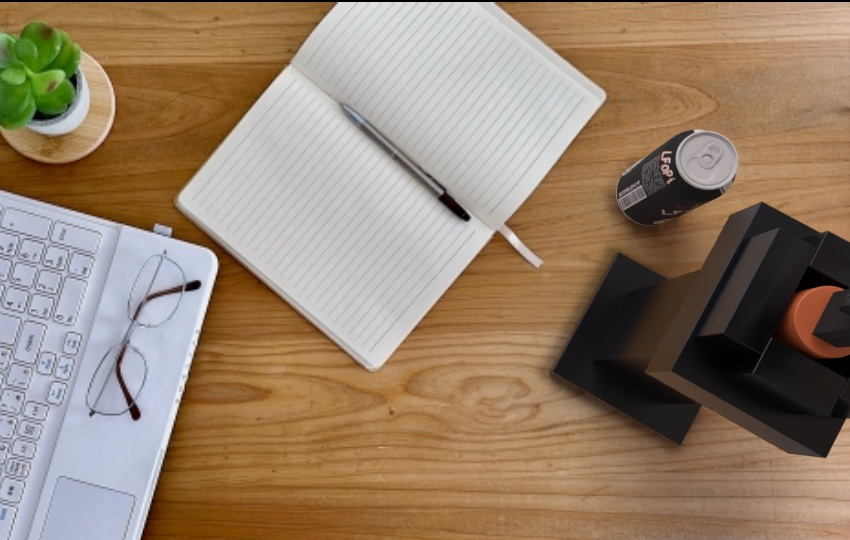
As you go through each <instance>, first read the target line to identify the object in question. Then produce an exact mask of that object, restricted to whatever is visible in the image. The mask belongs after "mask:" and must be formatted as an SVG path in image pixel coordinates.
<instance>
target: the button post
mask: <svg viewBox="0 0 850 540" xmlns="http://www.w3.org/2000/svg"><path fill="white" fill-rule="evenodd" d="M822 286H834V287H838V288H842V289H844V290H847V289H849V287H850V241H849V240H847V239H844V238H843V237H841V236H839V235H837V234H835V233H833V232H832V231H830V230H825V231H822V232H820V231H819V230H816V229H814V228H813V227H811V226H809V225H808V224H805V223H804V222H801V221H799V220H798V219H796V218H794V217H792V216H790V215H788V214H786V213H785V212H783V211H781V210H779V209H777V208H775V207H773V206H771V205H769V204H768V203H766V202H764V201H763V200H762V201H759V202H757V203H754V204H752V205H749V206H748V207H745V208H743V209H740V210H738V211H736V212H733V213H731V214H730V215H728V218H727V219H726V221H725V223H724V225H723V227H722V229H721V230H720V232H719V234H718V236H717V238H716V240H715V241H714V244H713V246H712V247H711V249H710V250H709V253H708V255H707V256H706V258H705V260H704V261H703V264H702V266H701V267H700V269H697V270H694V271H691V272H688V273H685V274H682V275H678V276H675V277H673V278H667V277H665V276H663V275H661V274H659V273H657V272H656V271H654V270H652V269H650V267H649V268H648V267H647V266H644V265H643V264H641V263H640V262H637V261H636V260H634V259H633V258H630V257H629V256H627V255H625V254H623V253H621V252H619V251H618V252H615V253H614V254H613V255H612V256H611V258H610V260H609V262H608V264H607V266H606V268H605V269H604V271H603V273H602V275H601V277H600V278H599V280H598V282H597V284H596V285H595V287H594V289H593V291H592V292H591V294H590V296H589V298H588V299H587V302H586V304H585V305H584V307H583V309H582V311H581V313H580V314H579V316H578V318H577V320H576V322H575V324H574V325H573V327H572V329H571V331H570V332H569V334H568V336H567V337H566V339H565V341H564V343H563V345H562V347H561V349H560V350H559V352H558V354H557V356H556V358H554V359H555V360H554V361H553V363H552V365H551V366H550V369H549V370H548V373H550V374H551V375H553V376H554V377H556V378H558V379H560V380H562V381H563V382H564V383H567V384H569V385H570V386H572V387H574V388H576V389H577V390H578V391H581V392H582V393H584V394H586V395H588V396H589V397H591V398H593V399H594V400H596V401H598V402H600V403H601V404H603V405H605V406H606V407H608V408H610V409H612V410H614V411H615V412H617V413H619V414H621V415H622V416H624V417H626V418H627V419H629V420H631V421H633V422H634V423H636V424H638V425H639V426H641V427H643V428H645V429H647V430H648V431H650V432H652V433H654V434H655V435H657V436H659V437H660V438H662V439H664V440H666V441H667V442H669V443H671V444H673V445H676V446H681V445H682V444H683V442H684V439H685V438H686V436H687V434H688V432H690V431H689V430H690V429H691V427H692V425H693V423H694V421H695V419H696V417H697V416H698V414H699V412H700V410H701V408H702V406H703V407H705V408H706V409H708V410H710V411H712V412H714V413H715V414H717V415H719V416H720V417H723V418H725V419H726V420H728V421H730V422H732V423H733V424H735V425H737V426H738V427H740V428H742V429H743V430H745V431H747V432H749V433H751V434H753V435H755V436H756V437H758V438H759V439H761V440H763V441H765V442H766V443H768V444H770V445H772V446H773V447H776V448H777V449H779V450H780V451H783V452H784V453H786V454H788V455H796V456H804V457H813V458H820V459H827V458H828V456H829V454H830V452H831V450H832V448H833V446H834V444H835V442H836V440H837V438H838V436H839V434H840V432H841V430H842V429H843V426H844V424H845V422H846V420H850V354H849V355H847V356H844V357H839V358H826V359H811V358H809V357H807V356H805V355H803V354H802V353H800V352H798V351H796V350H794V349H792V348H791V347H789V346H787V345H785V344H783V343H782V342H780V341H778V340H776V339H774V338H773V337H771V336H772V334H773V332H774V330H775V328H776V326H777V324H778V322H779V320H780V319H781V317H782V315H783V313H784V311H785V309H786V307H787V305H788V303H789V302H790V300H791V298H792V296H793V294H794V292H798V291H802V290H807V289H812V288H817V287H822Z"/></svg>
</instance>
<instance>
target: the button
mask: <svg viewBox="0 0 850 540" xmlns="http://www.w3.org/2000/svg"><path fill="white" fill-rule="evenodd" d="M842 290H844V289H842V288H838V287H834V286H822V287H817V288H812V289H807V290H802V291H798V292H794V294H793V296H792V298H791V300H790V302H789V303H788V305H787V307H786V309H785V311H784V313H783V315H782V317H781V319H780V320H779V322H778V324H777V326H776V328H775V330H774V332H773V334H772V336H771V337H773V338H774V339H776V340H778V341H780V342H782V343H783V344H785V345H787V346H789V347H791V348H792V349H794V350H796V351H798V352H800V353H802V354H803V355H805V356H807V357H809V358H811V359H826V358H839V357H844V356H847V355H849V354H850V347H840V348H836V347H834V346H832V345H831V344H829V343H827V342H825V341H823V340H821V339H820V338H818V337H816V336H814V335H812V332H813V330H814V328H815V326H816V325H817V323H818V321H819V319H820V317H821V315H822V313H823V311H824V309H825V307H826V305H827V304H828V302H829V300H830V298H831V296H832V294H833V292H837V291H842Z"/></svg>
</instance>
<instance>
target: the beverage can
mask: <svg viewBox="0 0 850 540" xmlns="http://www.w3.org/2000/svg"><path fill="white" fill-rule="evenodd" d="M737 150H738V149H737V148H736V147H735V145H734V144H733V142H732V141H731V139H729V138H727V137H726V136H725V135H723V134H722V133H720V132H716V131H712V130H706V129H700V128H699V129H687V130H683V131H682V132H680V133H679V132H678V133H677V134H675V135H673V136H672V137H671V138H669V139H667V140H666V141H665V142H663V144H661V145H659V146H658V147H657V148H655V149H654V150H652V151H651V152H650V153H648V154H647V155H646V156H644V157H642V158H641V159H639V160H638V161H637V162H635V163H634V164H633V165H631V166H630V167H628V168H627V169H626V170H624V172H623V173H622V174H621V176H620V177H619V179H618V181H617V184H616V188H615V189H616V190H615V196H616V197H615V198H616V201H617V205H618V207H619V209H620V211H621V212H622V213H623V214H624V215H625V217H627V219H629V220H630V221H632V222H634V223H636V224H638V225H641V226H647V227H657V226H661V225H664V224H666V223H669V222H671V221H672V220H675V219H677V218H678V217H681V216H683V215H685V214H687V213H689V212H692V211H694V210H695V209H697V208H700V207H702V206H704V205H706V204H708V203H710V202H712V201H715V200H716V199H719V198H720V197H721V196H723V195H724V194H726V193H727V191H729V189H730V188H731V187H732V185H733V183H734V181H735V179H736V176H737V173H738V169H739V163H740V159H739V153H738V151H737Z"/></svg>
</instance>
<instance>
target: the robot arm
mask: <svg viewBox="0 0 850 540" xmlns="http://www.w3.org/2000/svg"><path fill="white" fill-rule="evenodd" d="M812 335H814V336H816V337H818V338H820V339H821V340H823V341H825V342H827V343H829V344H831V345H832V346H834V347H836V348H840V347H850V287H849V289H847V290H842V291H837V292H833V294H832V296H831V298H830V300H829V302H828V304H827V305H826V307H825V309H824V311H823V313H822V315H821V317H820V319H819V321H818V323H817V325H816V326H815V328H814V330H813V332H812Z"/></svg>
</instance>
